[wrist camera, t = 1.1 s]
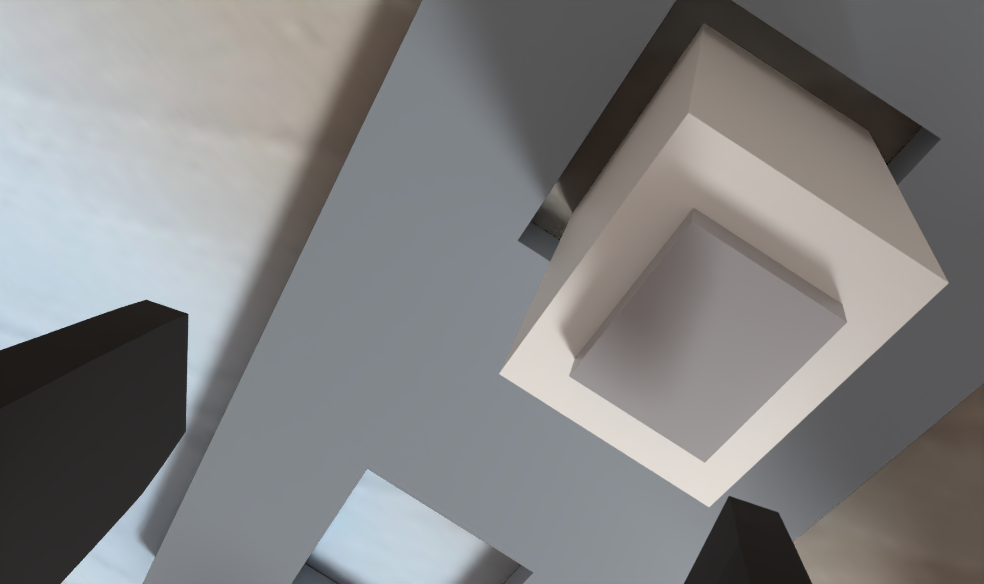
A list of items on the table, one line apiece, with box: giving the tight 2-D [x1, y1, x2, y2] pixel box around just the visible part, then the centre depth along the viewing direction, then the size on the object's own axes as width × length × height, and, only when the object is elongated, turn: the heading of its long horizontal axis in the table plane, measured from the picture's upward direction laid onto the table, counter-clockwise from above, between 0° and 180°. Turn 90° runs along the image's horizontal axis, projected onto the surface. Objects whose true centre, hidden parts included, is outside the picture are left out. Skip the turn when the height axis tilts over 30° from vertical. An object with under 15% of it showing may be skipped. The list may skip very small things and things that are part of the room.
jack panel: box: [143, 0, 984, 584], centre depth 21 cm, size 14×30×2 cm, turn 151°
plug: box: [499, 23, 949, 507], centre depth 14 cm, size 4×5×8 cm
